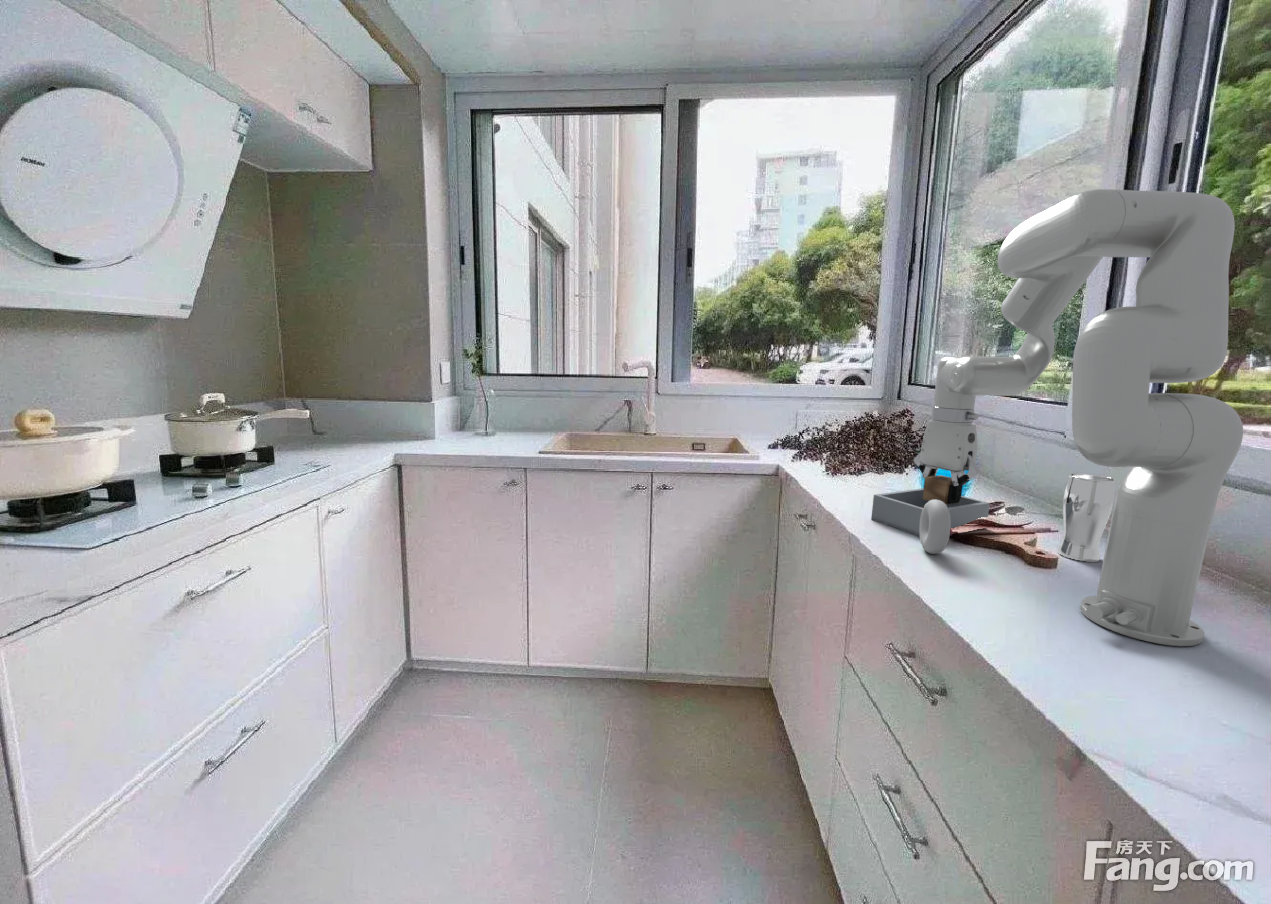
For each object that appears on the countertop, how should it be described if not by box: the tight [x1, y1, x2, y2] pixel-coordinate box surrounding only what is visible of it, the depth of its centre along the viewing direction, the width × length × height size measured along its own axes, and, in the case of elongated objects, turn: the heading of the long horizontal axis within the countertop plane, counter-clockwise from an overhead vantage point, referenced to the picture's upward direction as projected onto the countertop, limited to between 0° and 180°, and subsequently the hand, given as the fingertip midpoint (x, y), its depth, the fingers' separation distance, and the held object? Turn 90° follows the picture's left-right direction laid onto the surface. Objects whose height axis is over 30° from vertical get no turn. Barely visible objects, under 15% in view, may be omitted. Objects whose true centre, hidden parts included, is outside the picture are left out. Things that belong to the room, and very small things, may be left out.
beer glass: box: [1057, 472, 1117, 563], centre depth 100 cm, size 7×7×15 cm
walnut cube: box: [923, 474, 956, 505], centre depth 119 cm, size 5×5×5 cm
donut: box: [919, 499, 951, 555], centre depth 101 cm, size 10×4×10 cm, turn 165°
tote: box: [870, 487, 991, 537], centre depth 118 cm, size 18×14×6 cm
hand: (941, 498), depth 119 cm, fingers closed on walnut cube, 4 cm apart
